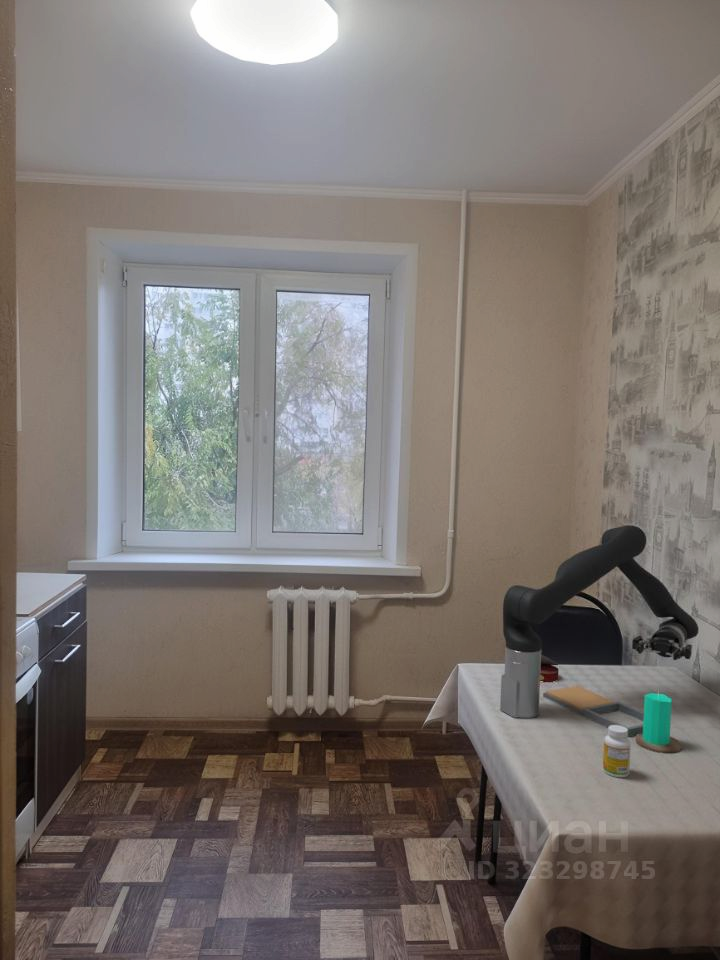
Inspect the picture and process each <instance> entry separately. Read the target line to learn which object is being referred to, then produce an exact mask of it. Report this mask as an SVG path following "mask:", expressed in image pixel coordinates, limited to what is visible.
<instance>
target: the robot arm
mask: <svg viewBox="0 0 720 960" xmlns="http://www.w3.org/2000/svg"><path fill="white" fill-rule="evenodd" d="M600 539H601V540H600V541H601V544H598V545H595V546H593V547H589V548H586V549H585V550H582V551H579V552H577V553H575V554H574V555H572V556H571V557H569V558H567V559H566V560H564V561H563V562H562V563H561V564H560V565H559V566H558V567H557V570H556V574H555V577H554V580H553V581H551V582H550V583H549V584H548V585H546V586H543V587H542V588H532V587H527V586H524V585H518V584H517V585H513V586H511V587H509V588H508V589H507V591H506V593H505V594H504V597H503V603H502V625H503V626H502V632H503V636H504V640H505V649H504V650H505V651H504V653H505V654H504V674H502V675H501V678H500V680H501V681H500V701H499V702H500V704H499V706H500V708H499V711H501V712H503V713H506V714H507V715H509V716H511V717H513V718H523V719H525V718H526V719H527V718H528V719H529V718H535V717H537V716H539V714H540V713H539V711H540V710H539V709H540V694H541V693H540V692H541V691H540V690H541V689H540V688H541V682H540V670H541V655H542V639H541V636H539V635H538V633H536V632H535V631H534V629H532V627H531V625H532V626H534V625H535V626H536V625H540V624H542V623H543V622H545V621H546V620H548V619H549V618H550V617H551V616H552V615H554V614H555V612H556V611H558V610H559V609H560V608H561V607H562V606H564V605H565V603H567V602H568V601H571V599H573V598H574V597H576V596H577V595H578V594H580V593H581V592H583V591H585V590H586V589H588V588H590V586H593V584H595V583H597V581H599V580H600V579H602V578H603V577H604V576H606V575H608V574H609V573H611V572H612V570H614V569H615V568H618V570H620V571H621V572H622V574H623V575H624V577H626V578H627V579H628V580H629V581H630V583H631V584H632V585H633V586H634V587H635V588H636V590H637V591H638V592H639V593H640V595H641V596H642V598H643V600H644V601H645V603H646V604H647V606H648V607H649V609H650V611H651V612H652V614H654V616H655V617H656V618H659V619H665V618H671V619H667V620H665V621H662V622H661V623H660V624H659V625H658V629H657V630H656V631H655V632H654V633H653V634H652V636H651V638H645V639H644V638H643V636H641V635H637V636H636V637H634V638H633V639H632V643H631V645H632V647H631V648H632V650H635V651H636V653H637V654H639V655H640V654H643V652H647V653H655V654H657V655H658V656H661V657H663V658H672V659H673V661H677V660H680V659H683V657H684V659H686V660H690V659H691V657H692V651H693V645H692V644H686V645H685V643H686V641H687V640H690V639H694V638H695V637H697V635H698V633H699V626H698V625H699V624H698V623H697V622H696V620H695V619H694V618H693V616H691V615H690V614H689V613H688V612H686V611H685V610H684V609H683V608H682V607H681V606H680V605H679V604H678V603H677V602H676V601H675V599H674V598H673V596H672V595H671V593H670V592H669V590H668V588H667V587H666V586H665V585H664V583H663V582H661V580H660V579H658V578H657V577H656V576H654V574H652V573H650V572H649V571H648V570H646V568H643V567H642V566H641V565H640V564H639V563H638V562H637V561H636V560H635V559H634V558H636V557H638V556H639V555H641V554H642V553H643V552H644V550H645V548H646V546H647V536H646V533H645V532H644V530H643V529H641V528H640V527H638V526H637V525H630V524H629V525H623V526H618V527H613V528H609V529H607V530H606V531H604V532H603V533H602V536H601V538H600Z"/></svg>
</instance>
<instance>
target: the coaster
mask: <svg viewBox="0 0 720 960" xmlns="http://www.w3.org/2000/svg"><path fill="white" fill-rule="evenodd" d="M635 742H637V743H636V744H637V745H638V744H639V745H638V746H640V747H641V748H643V747H644V749H645V748H646V750H648V749H649V750H648V751H651V750H652V751H651V752H655V751H656V753H660V752H662V753H661V754H674V753H679V752H680V751H681V750H682V743H681V742H680V741H679V740H678V739H676V738H675V737H673V736H670V742H669V744H668V745H655V744H650V743H648V742H646V741H645V740H644V739H643V733H639V734H638V735H635Z"/></svg>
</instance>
